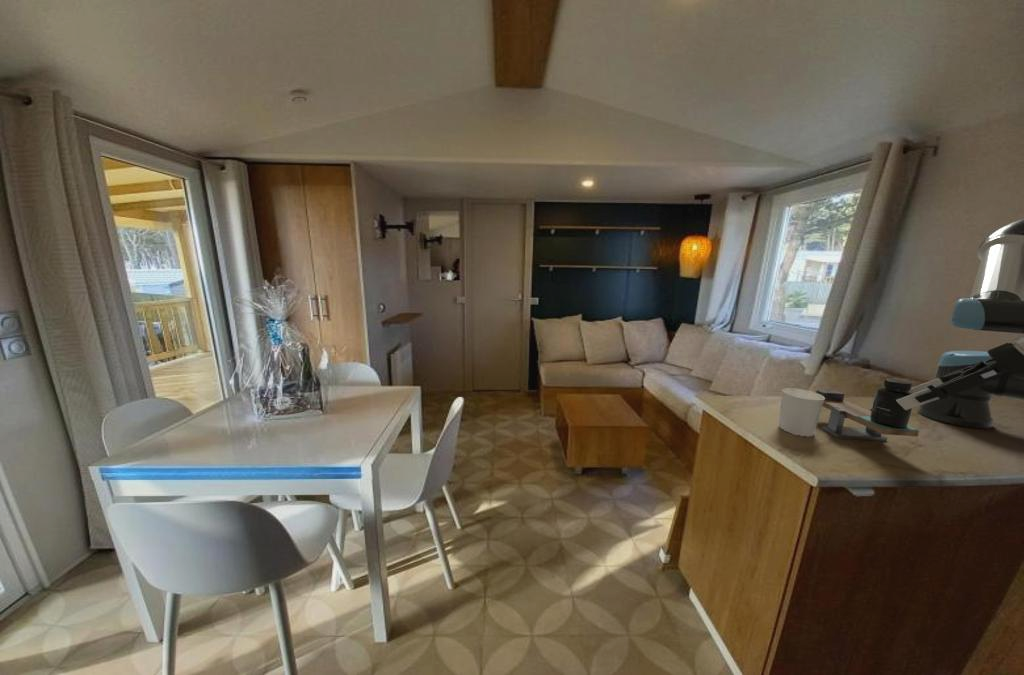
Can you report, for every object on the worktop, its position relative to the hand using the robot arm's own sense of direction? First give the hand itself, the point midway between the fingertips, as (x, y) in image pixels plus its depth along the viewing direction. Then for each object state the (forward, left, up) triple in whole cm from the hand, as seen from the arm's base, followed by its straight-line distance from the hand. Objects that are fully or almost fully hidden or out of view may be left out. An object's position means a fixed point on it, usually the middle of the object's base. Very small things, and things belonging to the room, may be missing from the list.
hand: (906, 399), depth 87 cm
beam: (+1, -11, -10) cm, 14 cm away
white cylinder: (+16, -11, -16) cm, 26 cm away
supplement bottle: (+1, -2, -8) cm, 8 cm away
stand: (+1, -11, -16) cm, 19 cm away
